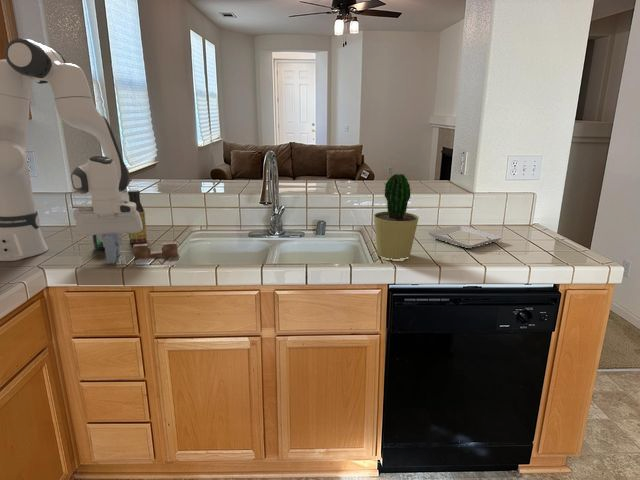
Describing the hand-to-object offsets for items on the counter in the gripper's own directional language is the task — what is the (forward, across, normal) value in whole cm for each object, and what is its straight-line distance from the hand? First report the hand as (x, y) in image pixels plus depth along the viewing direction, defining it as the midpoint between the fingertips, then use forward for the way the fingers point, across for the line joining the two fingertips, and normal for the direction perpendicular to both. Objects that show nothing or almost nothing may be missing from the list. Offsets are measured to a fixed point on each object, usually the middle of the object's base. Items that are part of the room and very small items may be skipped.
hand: (112, 246), depth 147 cm
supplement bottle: (+4, -5, +12) cm, 14 cm away
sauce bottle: (+4, +6, +18) cm, 19 cm away
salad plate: (+5, +131, -10) cm, 131 cm away
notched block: (+4, +14, -2) cm, 15 cm away
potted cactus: (+4, +95, -21) cm, 97 cm away
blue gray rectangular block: (+4, 0, 0) cm, 4 cm away
